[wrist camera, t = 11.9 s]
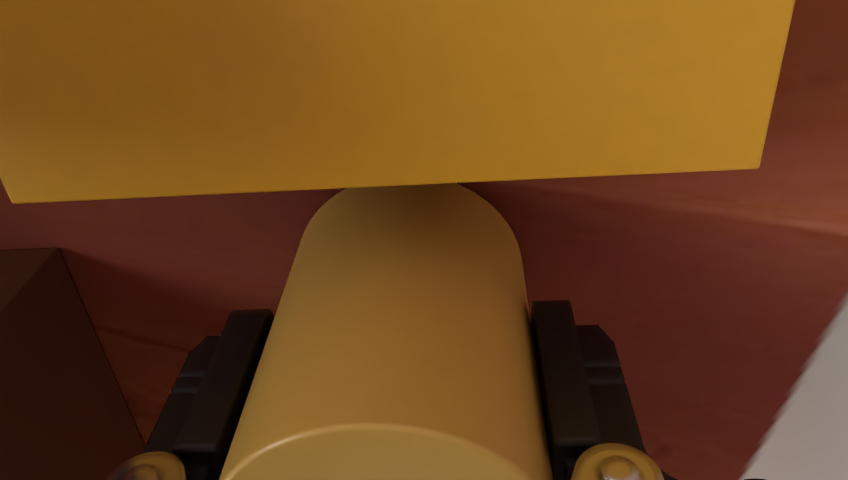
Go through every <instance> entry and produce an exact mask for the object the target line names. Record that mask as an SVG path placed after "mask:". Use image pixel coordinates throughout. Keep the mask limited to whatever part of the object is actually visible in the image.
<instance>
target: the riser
mask: <svg viewBox="0 0 848 480" xmlns="http://www.w3.org/2000/svg"><path fill="white" fill-rule="evenodd" d="M144 448H145V447H144V444H143V442H142V440H141V437H140V435H139V433H138V430H137V428H136V426H135V424H134V421H133V419H132V417H131V414H130V412H129V410H128V407H127V405H126V403H125V401H124V398H123V396H122V394H121V391H120V389H119V387H118V385H117V382H116V380H115V378H114V375H113V373H112V371H111V368H110V366H109V364H108V362H107V359H106V357H105V355H104V352H103V350H102V348H101V345H100V343H99V341H98V339H97V336H96V334H95V332H94V329H93V327H92V325H91V323H90V320H89V318H88V316H87V313H86V311H85V309H84V306H83V304H82V302H81V300H80V297H79V295H78V293H77V290H76V288H75V286H74V283H73V281H72V279H71V277H70V274H69V272H68V270H67V267H66V265H65V263H64V260H63V258H62V256H61V254H60V251H59V249H57V248H46V249H23V250H0V480H106V478H107V477H108V476H109V474H110V473H111V472H112V471H113V470H114V469H116V468H117V467H118V466H119V465H121V464H122V463H124V462H125V461H127V460H128V459H130V458H133V457H135V456H137V455H140V454H142V452H143V450H144Z"/></svg>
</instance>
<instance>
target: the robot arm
mask: <svg viewBox="0 0 848 480" xmlns="http://www.w3.org/2000/svg"><path fill="white" fill-rule="evenodd" d="M273 320H274V316H273V314H272V312H271V310H269V309H259V310H234V311H232V312H231V313H230V315H229V317H228V319H227V322H226V324H225V326H224V329H223V331H222V333H221V336H207V337H206V338H205V339H204V340H203V341H202V342H201V343H200V344H198V345H197V346H196V347H195V348H194V349H193V350H192V351H191V352H190V353H189V355H188V357H187V359H186V361H185V363H184V365H183V367H182V369H181V372H180V377H179V378H177V380H176V382H175V384H174V386H173V388H172V394H170V395H169V397H168V399H167V401H166V403H165V405H164V407H163V410H162V412H161V414H160V416H159V418H158V420H157V422H156V424H155V427H154V429H153V431H152V433H151V435H150V437H149V439H148V441H147V443H146V446H145V448H144V450H143V452H142V454H140V455H137V456H135V457H133V458H130V459H128V460H127V461H125V462H124V463H122V464H121V465H119V466H118V467H117V468H116V469H114V470H113V471H112V472H111V473H110V474H109V476H108V477H107V478H106V480H219V478H220V475H221V472H222V469H223V466H224V463H225V461H226V458H227V455H228V452H229V449H230V446H231V443H232V440H233V437H234V434H235V431H236V428H237V425H238V423H239V420H240V417H241V414H242V411H243V408H244V405H245V402H246V399H247V396H248V393H249V390H250V387H251V385H252V382H253V379H254V376H255V373H256V370H257V367H258V364H259V361H260V358H261V355H262V352H263V349H264V347H265V344H266V341H267V338H268V335H269V332H270V329H271V326H272V323H273ZM531 326H532V333H533V340H534V347H535V354H536V361H537V368H538V375H539V382H540V389H541V396H542V403H543V410H544V417H545V424H546V431H547V437H548V444H549V451H550V458H551V465H552V472H553V479H554V480H676V479H674V478H673V477H671V476H669V475H668V474H666V473H665V472H663V471H662V470H661V469H660V468H659V467H658V465H657V464H656V463H655V462H654V461H653V460H652V459H651V458H650V457H649V456H648V454H647V452H646V451H645V448H644V445H643V442H642V439H641V435H640V432H639V428H638V425H637V421H636V418H635V414H634V411H633V407H632V404H631V400H630V397H629V394H628V390H627V387H626V384H625V382H624V376H623V373H622V369H621V367H620V362H619V359H618V355H617V352H616V348H615V345H614V342H613V341H612V340H611V339H610V338H609V337H608V336H607V335H606V333H605V332H604V331H603V330H602V329H601V328H600V327H599V326H598V325H579V326H575V321H574V317H573V313H572V308H571V304H570V301H569V300H552V301H532V305H531ZM745 480H764V479H745Z"/></svg>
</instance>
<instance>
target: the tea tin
mask: <svg viewBox="0 0 848 480" xmlns="http://www.w3.org/2000/svg"><path fill="white" fill-rule="evenodd" d="M219 480H554V479H553V472H552V465H551V458H550V451H549V444H548V437H547V431H546V424H545V417H544V410H543V403H542V396H541V389H540V382H539V375H538V368H537V361H536V354H535V347H534V340H533V333H532V326H531V319H530V313H529V306H528V299H527V292H526V285H525V278H524V271H523V264H522V257H521V253H520V249H519V245H518V243H517V240H516V238H515V235H514V233H513V231H512V230H511V228H510V226H509V225H508V223H507V222H506V220H505V219H504V218H503V217H502V215H501V214H500V213H499V212H498V211H497V210H496V209H495V208H494V207H493V206H492V205H491V204H490V203H489V202H487V201H486V200H485V199H483V198H482V197H480V196H479V195H477V194H476V193H475V192H473V191H471V190H469V189H467V188H465V187H463V186H461V185H459V184H456V183H446V184H425V185H403V186H382V187H361V188H346V189H344V190H342V191H340V192H339V193H338V194H336V195H335V196H333V197H332V198H330V199H329V200H328V201H327V202H326V203H325V204H324V205H323V206H322V207H320V208H319V210H318V211H317V212H316V213H315V215H314V216H313V217H312V218H311V220H310V222H309V223H308V225H307V227H306V229H305V231H304V233H303V236H302V239H301V241H300V244H299V247H298V250H297V253H296V256H295V259H294V262H293V265H292V268H291V271H290V274H289V276H288V279H287V282H286V285H285V288H284V291H283V294H282V297H281V300H280V303H279V306H278V309H277V312H276V314H275V317H274V320H273V323H272V326H271V329H270V332H269V335H268V338H267V341H266V344H265V347H264V349H263V352H262V355H261V358H260V361H259V364H258V367H257V370H256V373H255V376H254V379H253V382H252V385H251V387H250V390H249V393H248V396H247V399H246V402H245V405H244V408H243V411H242V414H241V417H240V420H239V423H238V425H237V428H236V431H235V434H234V437H233V440H232V443H231V446H230V449H229V452H228V455H227V458H226V461H225V463H224V466H223V469H222V472H221V475H220V478H219Z"/></svg>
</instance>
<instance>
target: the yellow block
mask: <svg viewBox="0 0 848 480" xmlns="http://www.w3.org/2000/svg"><path fill="white" fill-rule="evenodd" d="M794 5H795V0H0V178H1V181H2V183H3V185H4V187H5V189H6V192H7V194H8V196H9V198H10V200H11V202H12V203H13V204H19V203H41V202H62V201H83V200H105V199H126V198H147V197H169V196H190V195H211V194H233V193H254V192H275V191H297V190H318V189H339V188H361V187H382V186H403V185H425V184H446V183H467V182H489V181H510V180H531V179H553V178H574V177H595V176H616V175H638V174H659V173H680V172H702V171H723V170H744V169H758V168H759V167H760V162H761V157H762V153H763V148H764V143H765V139H766V134H767V130H768V125H769V120H770V116H771V111H772V106H773V102H774V97H775V93H776V88H777V83H778V79H779V74H780V69H781V65H782V60H783V56H784V51H785V46H786V42H787V37H788V32H789V28H790V23H791V19H792V14H793V9H794Z"/></svg>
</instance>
